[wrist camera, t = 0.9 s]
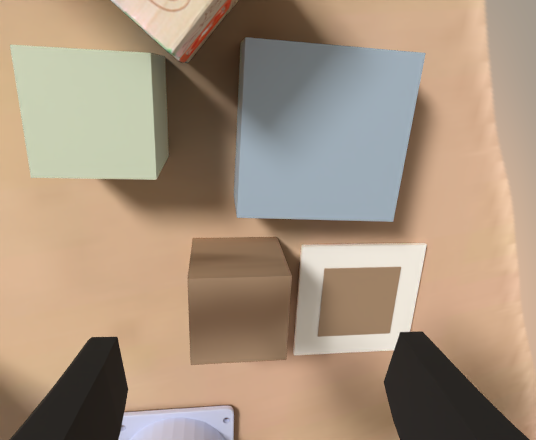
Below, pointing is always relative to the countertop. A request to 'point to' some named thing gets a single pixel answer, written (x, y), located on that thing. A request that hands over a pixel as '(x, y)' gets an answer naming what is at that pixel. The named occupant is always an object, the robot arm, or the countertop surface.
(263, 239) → the walnut cube
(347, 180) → the base block
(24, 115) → the sage cube
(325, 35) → the countertop surface
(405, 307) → the white flat square frame
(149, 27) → the stack of blocks
